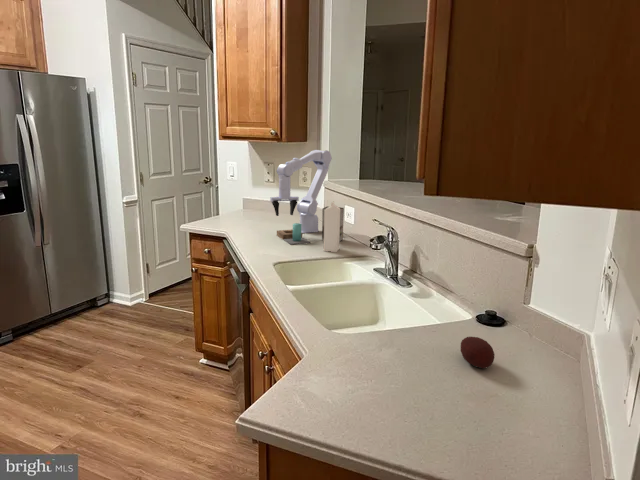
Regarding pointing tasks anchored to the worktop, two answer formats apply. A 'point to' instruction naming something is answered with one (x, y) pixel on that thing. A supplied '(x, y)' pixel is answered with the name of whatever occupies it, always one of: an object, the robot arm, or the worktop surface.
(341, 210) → the coffee box
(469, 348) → the potato
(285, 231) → the socket block
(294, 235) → the plug
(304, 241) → the mat
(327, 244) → the milk
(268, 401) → the worktop surface
